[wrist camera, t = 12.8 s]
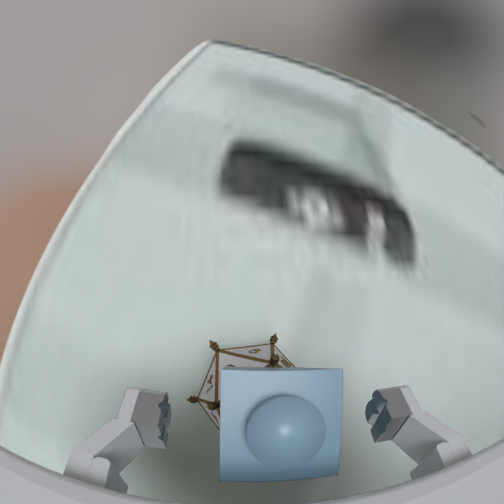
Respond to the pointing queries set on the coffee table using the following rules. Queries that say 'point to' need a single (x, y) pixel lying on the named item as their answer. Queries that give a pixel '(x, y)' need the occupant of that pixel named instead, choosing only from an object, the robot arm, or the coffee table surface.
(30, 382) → the coffee table surface
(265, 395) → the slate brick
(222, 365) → the twenty-sided die
